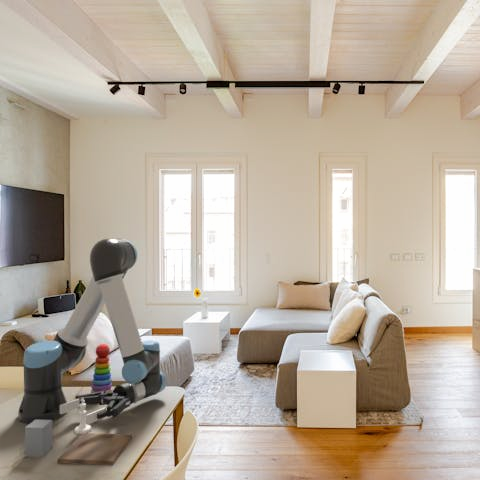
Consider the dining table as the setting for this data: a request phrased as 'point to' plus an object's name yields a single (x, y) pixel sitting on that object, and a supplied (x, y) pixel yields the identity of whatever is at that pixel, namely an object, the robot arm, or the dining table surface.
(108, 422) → the dining table surface
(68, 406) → the robot arm
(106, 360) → the stacking toy
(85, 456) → the walnut pad
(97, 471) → the dining table surface
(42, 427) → the slate block
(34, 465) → the dining table surface
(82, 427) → the chess piece
